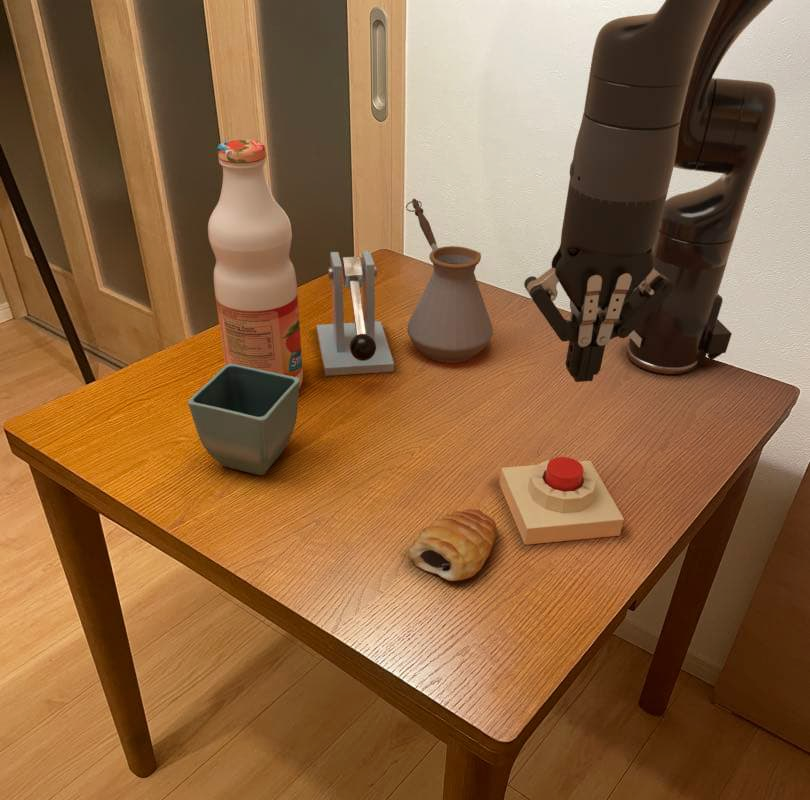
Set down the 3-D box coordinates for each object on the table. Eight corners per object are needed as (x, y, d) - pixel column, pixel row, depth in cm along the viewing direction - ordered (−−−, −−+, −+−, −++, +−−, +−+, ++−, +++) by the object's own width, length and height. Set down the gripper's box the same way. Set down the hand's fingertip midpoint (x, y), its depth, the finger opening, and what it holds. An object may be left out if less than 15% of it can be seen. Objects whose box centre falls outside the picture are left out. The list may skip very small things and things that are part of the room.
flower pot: (306, 446, 91) (301, 376, 85) (271, 491, 84) (264, 419, 78) (237, 430, 93) (227, 361, 87) (198, 473, 86) (185, 402, 80)
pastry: (455, 513, 82) (458, 484, 80) (513, 539, 80) (517, 510, 77) (403, 563, 77) (404, 534, 74) (463, 594, 74) (466, 564, 71)
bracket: (394, 371, 104) (395, 276, 95) (324, 376, 102) (320, 280, 94) (380, 328, 112) (381, 238, 104) (316, 332, 111) (311, 241, 103)
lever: (376, 365, 98) (378, 350, 95) (350, 366, 97) (351, 352, 94) (363, 270, 102) (364, 253, 99) (338, 272, 102) (338, 255, 99)
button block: (586, 476, 88) (593, 446, 85) (620, 535, 80) (628, 505, 78) (498, 483, 86) (502, 453, 84) (524, 545, 79) (529, 514, 76)
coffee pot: (505, 362, 106) (518, 251, 96) (424, 375, 103) (429, 262, 93) (445, 295, 121) (451, 193, 111) (373, 305, 118) (373, 200, 108)
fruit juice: (219, 373, 102) (184, 137, 84) (289, 359, 105) (271, 128, 87) (240, 410, 96) (207, 163, 77) (314, 394, 99) (299, 153, 80)
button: (574, 469, 83) (576, 455, 81) (585, 490, 80) (588, 476, 79) (540, 472, 82) (542, 458, 81) (551, 493, 79) (553, 479, 78)
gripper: (550, 201, 58) (522, 404, 70) (721, 194, 60) (665, 394, 71) (522, 167, 63) (500, 361, 75) (679, 162, 65) (634, 352, 77)
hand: (581, 377), depth 73 cm, fingers closed
